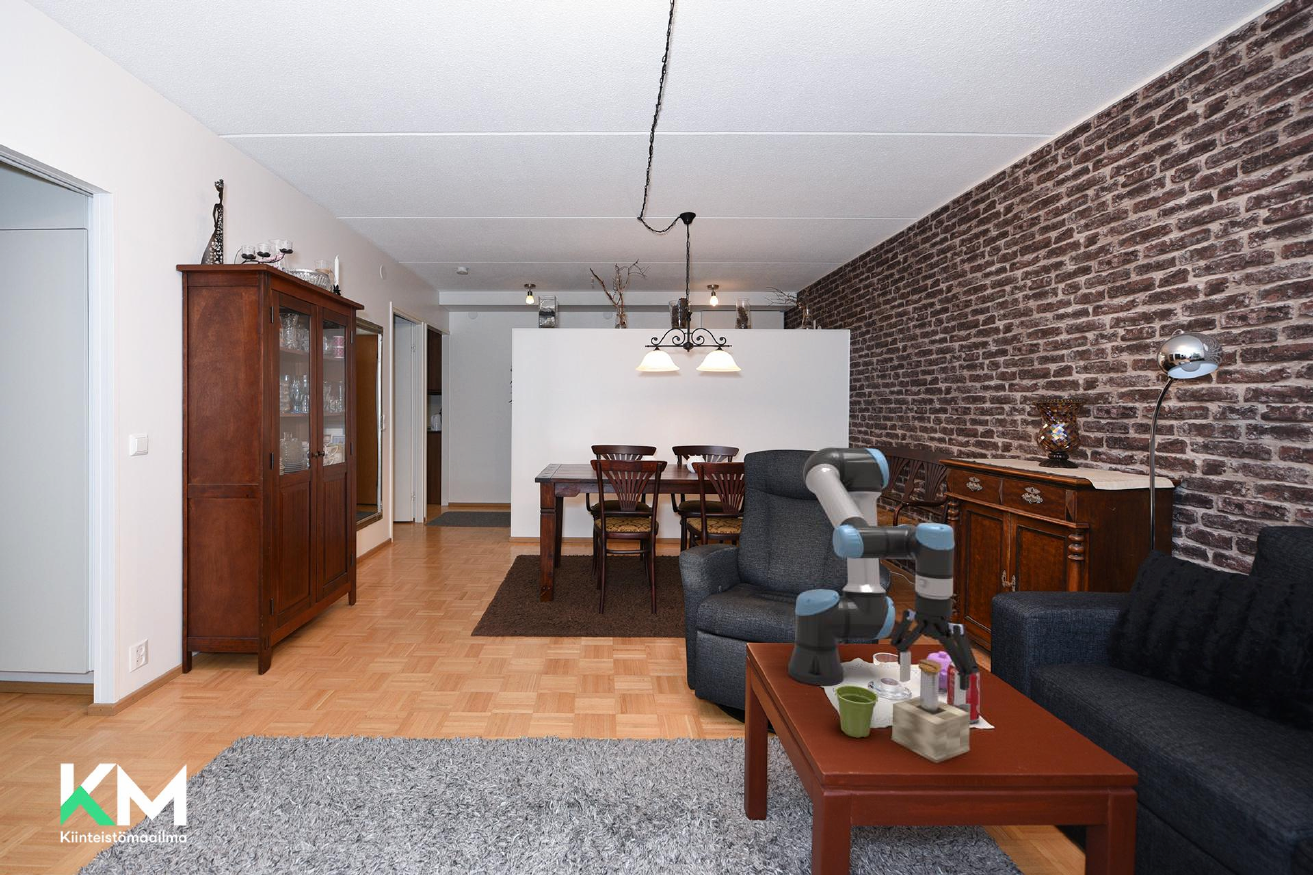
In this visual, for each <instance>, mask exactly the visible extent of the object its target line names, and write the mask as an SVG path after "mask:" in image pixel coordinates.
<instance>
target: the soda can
mask: <svg viewBox="0 0 1313 875" xmlns="http://www.w3.org/2000/svg"><path fill="white" fill-rule="evenodd" d="M957 672H958V670H957V668H956V667H955V665H954V663H953V662H952V660H951V661H950V662H949V666H948V668H947V689H946V704H948V705H951V706H953V707H955V708H958V709H960V710H962V711H965V712H967V713H969V714H970V724H974V723H976V722H977V721H978V720H980V710H981V709H980V707H981V706H980V705H981V704H980V701H981V699H980V698H981V691H980V690H981V688H980V686H981V685H980V684H981V682H980V681H981V675H980V672H979V673H975V674H972V675H970V679H969V689H968V690H966V703H964V704H961V705H958V706H957V705H955V704H954V693H955V673H957Z"/></svg>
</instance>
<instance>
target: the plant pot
mask: <svg viewBox="0 0 1313 875" xmlns="http://www.w3.org/2000/svg"><path fill="white" fill-rule="evenodd" d="M834 694H835V696H836V697H837V698H836V699H837V702H838V710H839V720H840V728H841V730H840V731H842V732H843V733H844V734H845V735H847V736H849V737H853V738H861V737H864V738H867V737H868V736H869V735H870V732H871V727H872V721H873V720H872V719H873V715H874V709H875V707H876V704H877V702H878V701H879V695H878V694H877V693H875V691H872V690H870V689H868V688H865V687H862V686H857V685H841V686H838V687H836V689H835V691H834Z"/></svg>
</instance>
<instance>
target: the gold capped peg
mask: <svg viewBox="0 0 1313 875" xmlns="http://www.w3.org/2000/svg"><path fill="white" fill-rule="evenodd" d="M926 659H927V658H926ZM926 659H925V658H924V659H919V660H918V665H917V666H918V669H919V670H920V688H919V690H920V691H919V692H920V693H919V696H920V709H921V710H923V711H926V712H928V713H930V714H932V715H935V714H938V700H939V687H938V684H939V672H941V664H940V663H939V662H936V661H933V660H926Z"/></svg>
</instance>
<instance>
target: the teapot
mask: <svg viewBox="0 0 1313 875" xmlns="http://www.w3.org/2000/svg"><path fill="white" fill-rule="evenodd" d="M926 660H933V661H936V662H939V663H940V664H941V672H939V684H938V689H944V690H947V668H948V666H949V662H950V661H951V658H950V656H949V655H948V653H947V651H942V650H941V651H938V653H937V652H932V653H929V654H928V656H927V657H926Z"/></svg>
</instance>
